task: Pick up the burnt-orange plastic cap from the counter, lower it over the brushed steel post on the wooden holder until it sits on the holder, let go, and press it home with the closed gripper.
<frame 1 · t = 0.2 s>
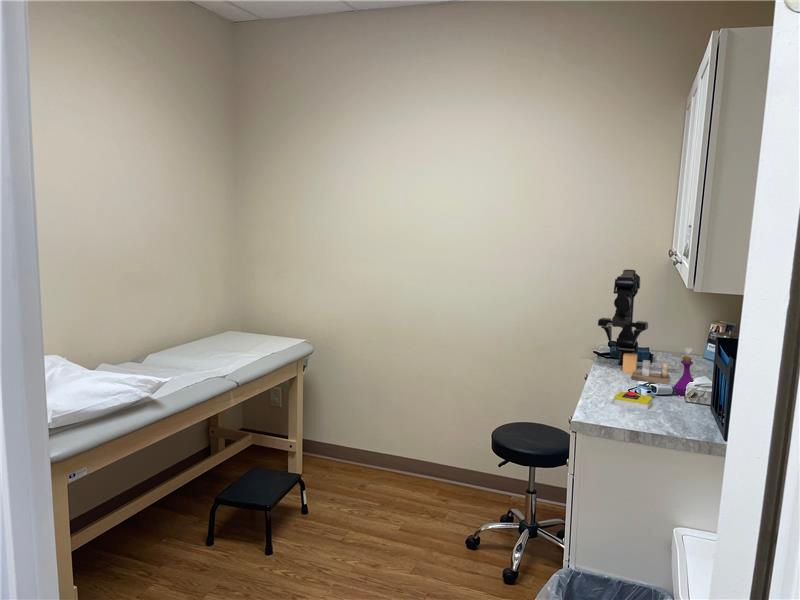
hand: (621, 344, 237), 14 cm above the worktop, tool pointing down, fingers open, 9 cm apart
wooden holder: (650, 379, 236), on the worktop
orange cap: (629, 372, 248), on the worktop
perfume bottle: (685, 396, 212), on the worktop
emergency button: (633, 406, 201), on the worktop
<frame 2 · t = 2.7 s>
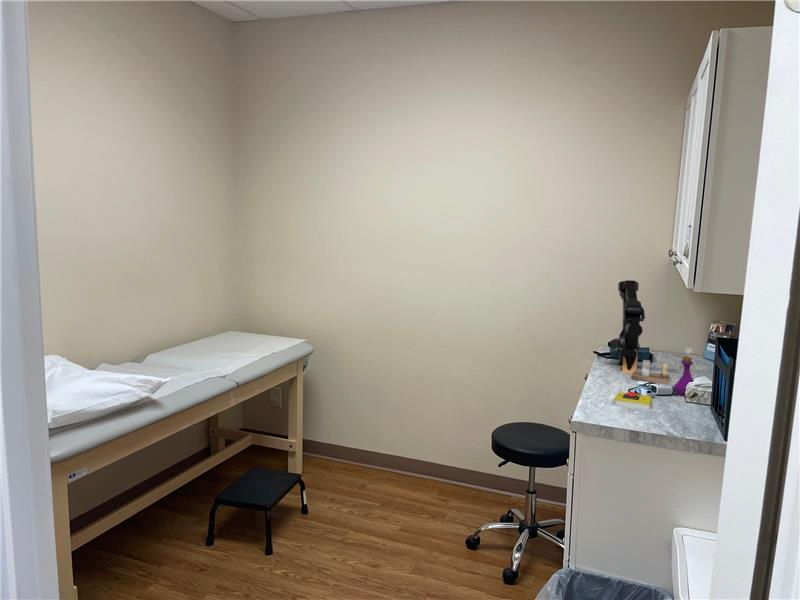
hand: (629, 368, 248), 2 cm above the worktop, tool pointing down, fingers closed on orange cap, 5 cm apart
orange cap: (629, 372, 248), on the worktop, touching gripper
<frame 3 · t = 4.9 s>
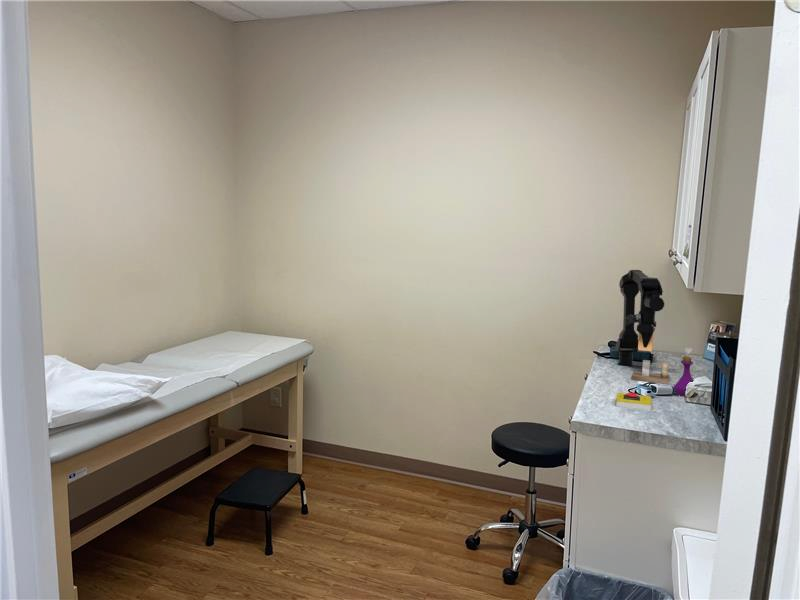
hand: (645, 346, 236), 13 cm above the worktop, tool pointing down, fingers closed on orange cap, 5 cm apart
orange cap: (645, 349, 236), point 12 cm above the worktop, touching gripper
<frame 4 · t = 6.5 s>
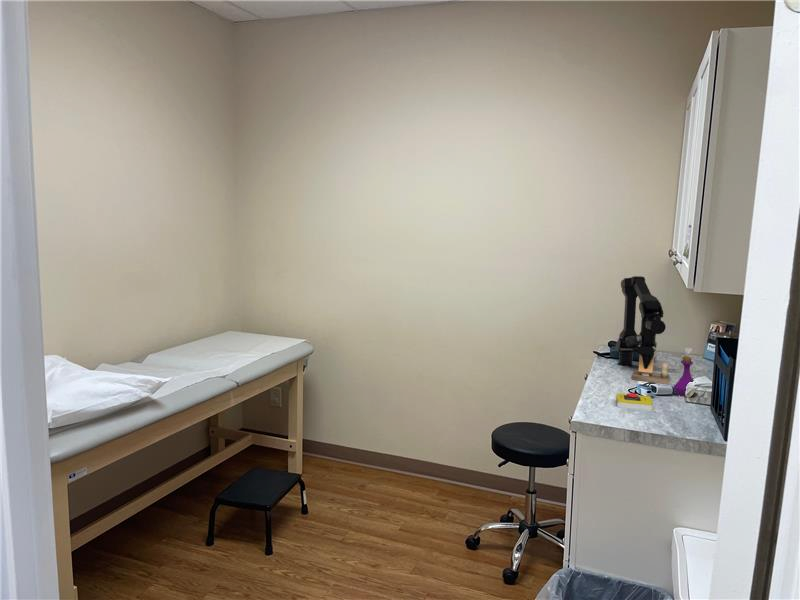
hand: (646, 367, 236), 5 cm above the worktop, tool pointing down, fingers closed on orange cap, 5 cm apart
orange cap: (645, 370, 236), point 3 cm above the worktop, touching gripper
when the fingers open (4 cm above the worktop, at t = 7.5 s): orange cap drops 1 cm, resting on wooden holder.
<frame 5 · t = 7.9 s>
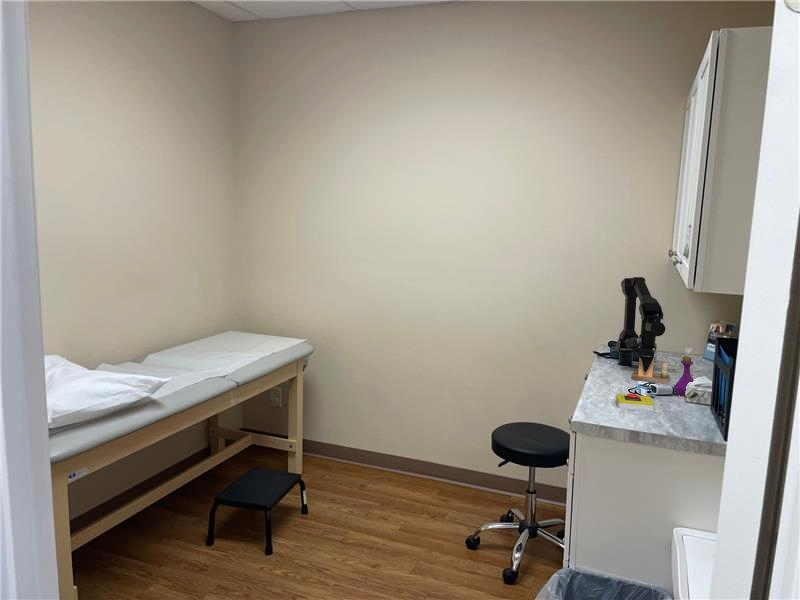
hand: (645, 369, 236), 4 cm above the worktop, tool pointing down, fingers open, 9 cm apart
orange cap: (645, 375, 236), point 1 cm above the worktop, touching wooden holder
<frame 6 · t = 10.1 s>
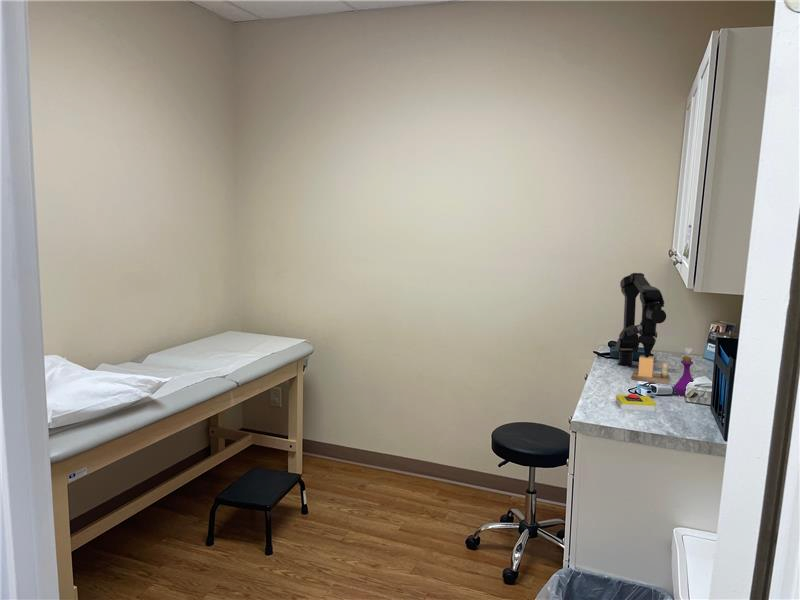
hand: (646, 357, 236), 9 cm above the worktop, tool pointing down, fingers closed, pressing on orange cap
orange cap: (645, 375, 236), point 1 cm above the worktop, touching gripper, wooden holder
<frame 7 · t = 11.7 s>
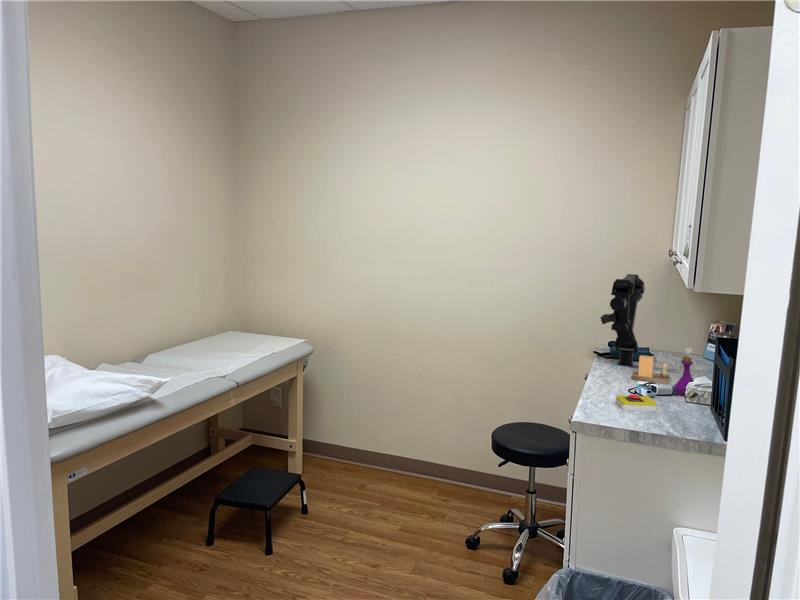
hand: (620, 343, 249), 12 cm above the worktop, tool pointing down, fingers closed
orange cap: (645, 375, 236), point 1 cm above the worktop, touching wooden holder
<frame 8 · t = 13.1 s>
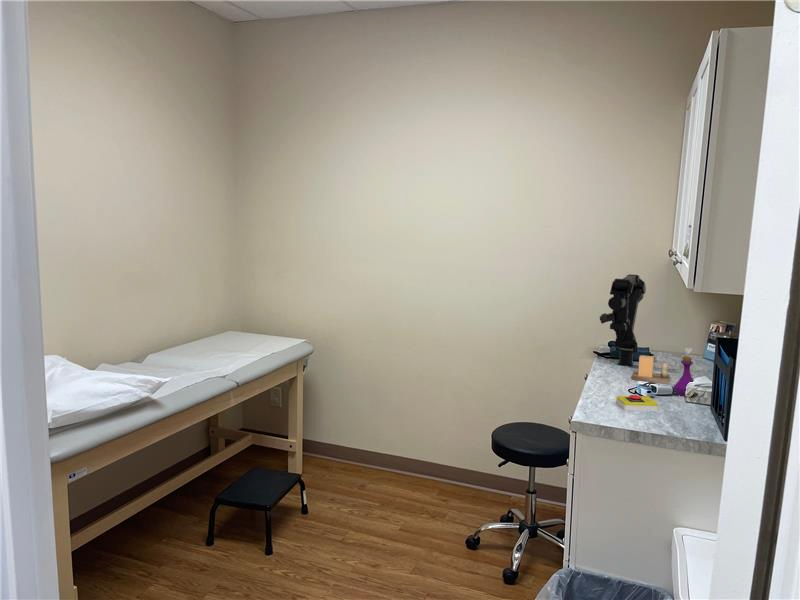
hand: (618, 343, 249), 12 cm above the worktop, tool pointing down, fingers closed
at the end: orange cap 0.0 cm from the target spot on the wooden holder, point 1.5 cm above the wooden holder's base; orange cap tilted 0°; the gripper is holding nothing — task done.
